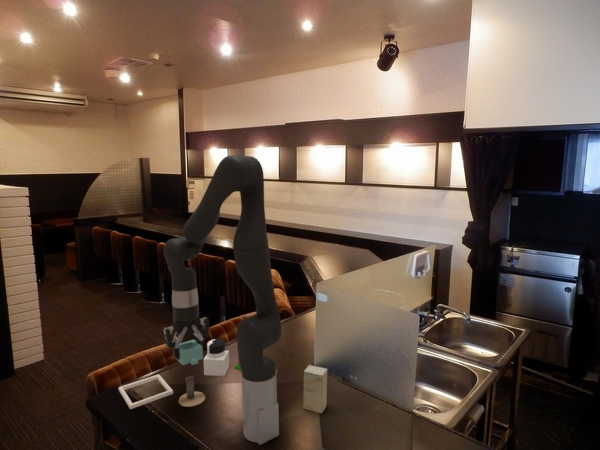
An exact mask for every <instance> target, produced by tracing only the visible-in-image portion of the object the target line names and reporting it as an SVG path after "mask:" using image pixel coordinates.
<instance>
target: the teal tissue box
mask: <svg viewBox="0 0 600 450" xmlns="http://www.w3.org/2000/svg"><path fill="white" fill-rule="evenodd" d="M203 350H204V349H203ZM203 350H202V346H201V345H200V344H198V343H197V342H196V339H190V340H188V341H184V342H180V345H179V355H180V359H179V360H177V362H178V363H180V365H182V366H184V365H187V364H191V365H192V366H194V365H197V364H199V361H200V360H203V359H204V354H203V353H204V351H203Z"/></svg>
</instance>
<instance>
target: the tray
mask: <svg viewBox="0 0 600 450" xmlns="http://www.w3.org/2000/svg"><path fill="white" fill-rule="evenodd" d="M155 380H156V381H158V382H159V384H161V386H162V387H163V389H165V391H163V392H160V393H157V394H154V395H153V396H149V397H145V398H144V399H141V400H138V401H135V402H132V400H131V399H130V397H129V396H128V395H129V394H127V392H126V391H125V390H130V389H132V388H135V387H138V386H141V385H144V384H147V383H150V382H153V381H155ZM118 392H119V393H120V395H121V396H122V398H123V399H124V401H125V403H126V405H127V407H128V408H129V409H130V410H132V409H136V408H137V407H141V406H143V405H146V404H149V403H151V402H154V401H157V400H159V399H162V398H165V397H168V396H171V395H174V390H173V389H172V387H171V386H169V384H168V383H167V381H166V380H165V379H164V378H163V377H162V376H161V375H160V374H156V375H152V376H149V377H146V378H142V379H139V380H137V381H134V382H131V383H127V384H124V385H121V386H118Z"/></svg>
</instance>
